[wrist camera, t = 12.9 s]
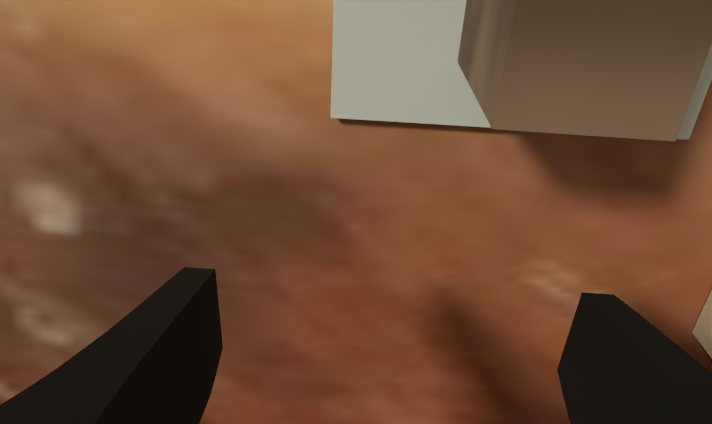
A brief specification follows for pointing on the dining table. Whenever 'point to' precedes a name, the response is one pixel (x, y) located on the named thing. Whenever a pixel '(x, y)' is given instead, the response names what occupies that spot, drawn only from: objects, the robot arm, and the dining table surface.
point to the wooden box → (705, 326)
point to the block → (586, 64)
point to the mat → (418, 65)
